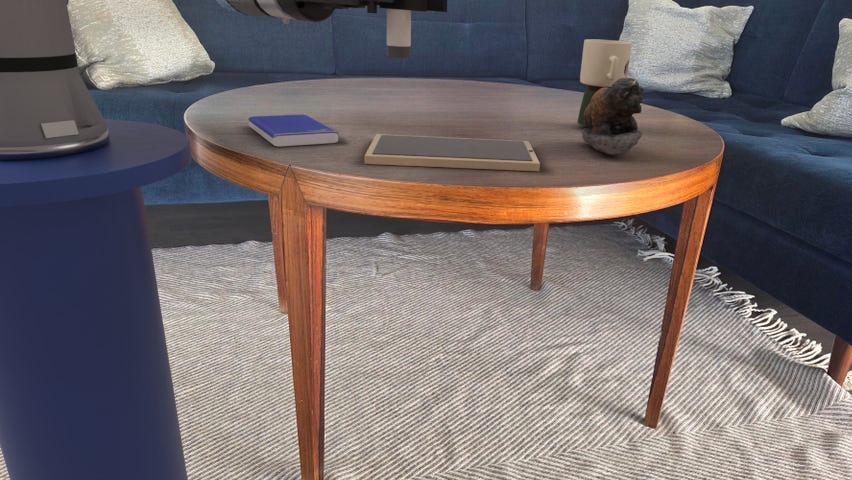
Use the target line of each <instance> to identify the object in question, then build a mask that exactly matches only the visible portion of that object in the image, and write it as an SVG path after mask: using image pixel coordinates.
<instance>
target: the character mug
mask: <svg viewBox="0 0 852 480" xmlns="http://www.w3.org/2000/svg"><path fill="white" fill-rule="evenodd" d="M632 44H633V43H632V42H629V41H623V40H611V39H598V38H596V39H594V38H593V39H592V38H590V39H589V38H587V39H584V41H583V48H582V56H581V64H580V65H581V66H580V75H579V82H580V83H581V84H583V85H586V86H588V88H586V90H585V91H584V93H583V96H582V100H581V104H580V108H579V112H578V116H577V121H576V123H577V124H578V125H580V126H586V125H585V124H584V112H585V109H586V108H587V107H588V105H589V103H590V101H591V99H592V96H593V95H594V94H595V93H596V92H597V91H598V90H600V89H601V88H604V87H607V88H611V86H612V84H613V83H614V82H616V81H617V80H618V79H620V78H628V72H629V65H630V60H631V51H632Z"/></svg>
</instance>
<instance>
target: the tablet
mask: <svg viewBox="0 0 852 480" xmlns="http://www.w3.org/2000/svg"><path fill="white" fill-rule="evenodd" d="M364 165H379V166H380V165H381V166H399V167H400V166H402V167H404V166H405V167H424V168H425V167H426V168H449V169H468V170H469V169H473V170H493V171H494V170H496V171H517V172H540V169H541V162H540V161H539V159H538V157H537V155H536V153H535V151H534V149H533V147H532V145H531V143H530V141H529V140H513V139H493V138H492V139H491V138H471V137H469V138H468V137H451V136H450V137H446V136H425V135H407V134H405V135H404V134H382V133H381V134H380V133H376V134H375V135H374V138H373V139H372V141H371V143H370V145H369V146H368V148H367V150H366V152H365V154H364Z"/></svg>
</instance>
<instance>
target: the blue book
mask: <svg viewBox="0 0 852 480" xmlns="http://www.w3.org/2000/svg"><path fill="white" fill-rule="evenodd" d="M248 127H249V128H251V129H252V130H253V131H254V132H256V133H257V134H258V135H260V136H261V137H262V138H263V139H265V140H266V141H268V142H269V143H270V144H271V145H273V146H274V147H293V146H295V147H296V146H307V145H308V146H309V145H322V144H323V145H324V144H335V143H338V142H339V134H338V133H339V132H338V131H337V130H336V129H333V128H331V127H330V126H328V125H326V124H323V123H322V122H321V121H318V120H316V119H314V118H313V117H311V116H309V115H307V114H282V115H281V114H280V115H278V114H277V115H257V116H250V117H248Z"/></svg>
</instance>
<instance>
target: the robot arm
mask: <svg viewBox="0 0 852 480" xmlns="http://www.w3.org/2000/svg"><path fill="white" fill-rule="evenodd" d="M215 1H216V3H217V4H218V5H219V6H221V7H222V8H223V9H225V10H227V11H229V12H231V13H232V12H233V13H237V14H241V15H242V16H250V17H251V16H252V17H265V18H274V19H275V18H276V19H281V21H282V23H283V24H287V25H288V24H290V22H291V20H294V21H295V20H296V21H300V22H301V21H302V22H311V23H320V22H324V21H326V20H327V19H329V18H330V17H331V16H332V15H333V13H334V12H335V11H336V10H348V9H350V8H351V9H365V8H367V12H366V13H367V14H378V7H379V9H385V10H387V9H399V10H411V12H438V13H447V12H448V0H215ZM69 3H70V0H0V161H31V160H44V159H53V158H61V157H68V156H74V155H79V154H84V153H88V152H92V151H95V150H98V149H101V148H103V147H105V146H107V145H108V144H109V143H110V138H109V132H108V128H107V125H106V122H105V120H104V119H105V118H104V117H103V114H102V113H101V111H100V109H99V107H98V106H97V104H96V102H95V100H94V98H93V96H92V94H91V93H90V91H89V89H88V87H87V85H86V83H85V81H84V79H83V77H82V76H81V73H80V69H79V64H78V59H77V52H76V47H75V41H74V36H73V29H72V26H71V25H72V24H71V20H70V13H69V7H68V5H69Z"/></svg>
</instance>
